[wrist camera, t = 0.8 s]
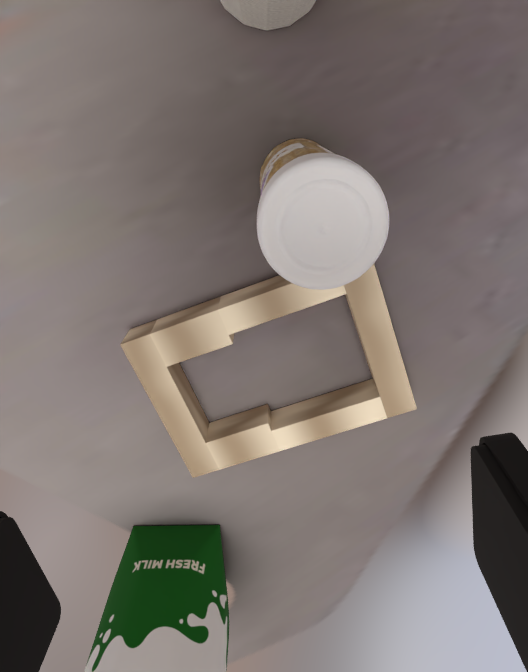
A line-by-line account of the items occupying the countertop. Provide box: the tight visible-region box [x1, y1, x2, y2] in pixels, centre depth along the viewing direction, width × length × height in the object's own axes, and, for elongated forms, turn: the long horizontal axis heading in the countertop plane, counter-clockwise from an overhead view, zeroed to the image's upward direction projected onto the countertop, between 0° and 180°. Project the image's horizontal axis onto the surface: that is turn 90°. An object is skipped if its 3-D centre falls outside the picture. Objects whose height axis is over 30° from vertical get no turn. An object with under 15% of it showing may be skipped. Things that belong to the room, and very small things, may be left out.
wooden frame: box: [120, 264, 417, 478], centre depth 33 cm, size 16×11×2 cm
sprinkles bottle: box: [257, 138, 389, 290], centre depth 23 cm, size 5×5×14 cm
